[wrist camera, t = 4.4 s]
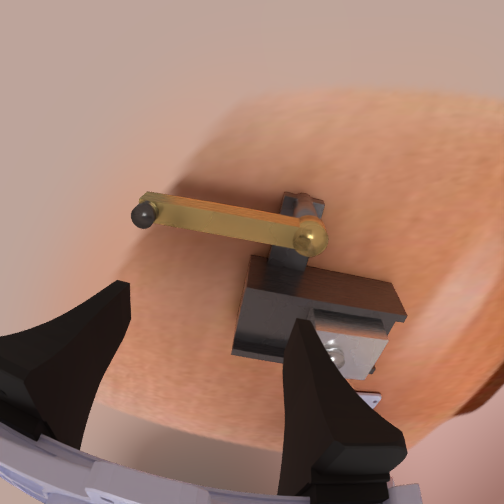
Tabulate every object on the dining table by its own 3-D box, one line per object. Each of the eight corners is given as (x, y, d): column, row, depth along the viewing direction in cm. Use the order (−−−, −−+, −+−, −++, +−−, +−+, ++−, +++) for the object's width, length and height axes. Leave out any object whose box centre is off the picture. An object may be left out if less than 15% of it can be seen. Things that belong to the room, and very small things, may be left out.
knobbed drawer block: (358, 354, 23) (365, 386, 20) (296, 346, 23) (297, 379, 20) (379, 314, 21) (391, 346, 18) (312, 303, 21) (317, 337, 18)
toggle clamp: (363, 339, 26) (372, 374, 23) (236, 318, 26) (231, 354, 22) (417, 222, 21) (440, 249, 17) (266, 184, 20) (264, 206, 17)
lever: (144, 216, 17) (130, 232, 16) (145, 185, 16) (131, 198, 15) (319, 248, 18) (324, 267, 16) (328, 218, 17) (335, 235, 15)
